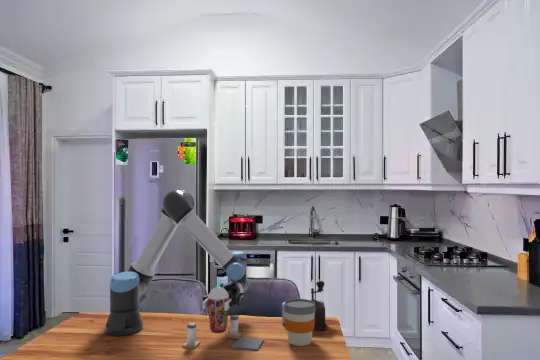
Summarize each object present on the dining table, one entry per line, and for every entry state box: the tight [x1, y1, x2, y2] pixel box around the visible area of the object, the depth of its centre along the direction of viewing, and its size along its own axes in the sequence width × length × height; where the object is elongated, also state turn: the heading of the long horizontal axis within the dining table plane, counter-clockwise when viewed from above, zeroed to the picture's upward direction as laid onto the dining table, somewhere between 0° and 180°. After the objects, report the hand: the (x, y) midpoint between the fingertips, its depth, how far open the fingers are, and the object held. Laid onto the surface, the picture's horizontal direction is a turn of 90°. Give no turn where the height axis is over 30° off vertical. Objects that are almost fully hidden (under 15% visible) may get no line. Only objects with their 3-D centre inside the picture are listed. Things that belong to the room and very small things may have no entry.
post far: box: [226, 314, 243, 340], centre depth 166 cm, size 5×5×8 cm
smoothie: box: [207, 279, 229, 334], centre depth 160 cm, size 8×8×20 cm
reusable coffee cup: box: [284, 298, 316, 347], centre depth 160 cm, size 13×13×15 cm
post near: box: [182, 322, 201, 349], centre depth 156 cm, size 5×5×8 cm
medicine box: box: [281, 301, 286, 325], centre depth 182 cm, size 8×4×9 cm, turn 84°
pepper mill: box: [310, 280, 327, 331], centre depth 180 cm, size 16×11×18 cm
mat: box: [231, 336, 265, 351], centre depth 157 cm, size 10×10×1 cm
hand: (214, 306), depth 155 cm, fingers closed on smoothie, 8 cm apart
